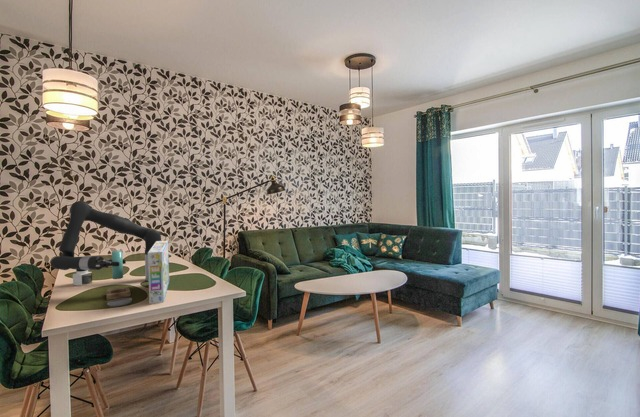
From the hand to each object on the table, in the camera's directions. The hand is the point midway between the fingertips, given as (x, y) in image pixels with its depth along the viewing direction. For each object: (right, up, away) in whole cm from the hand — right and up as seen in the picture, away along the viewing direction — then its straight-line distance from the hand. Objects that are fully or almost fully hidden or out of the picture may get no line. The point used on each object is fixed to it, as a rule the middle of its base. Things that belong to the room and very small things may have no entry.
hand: (122, 262), depth 177 cm
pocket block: (-3, -18, +1) cm, 19 cm away
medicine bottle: (-40, -18, +24) cm, 49 cm away
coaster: (+6, -19, -12) cm, 23 cm away
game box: (+18, -18, +7) cm, 26 cm away
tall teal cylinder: (-3, -9, 0) cm, 9 cm away
